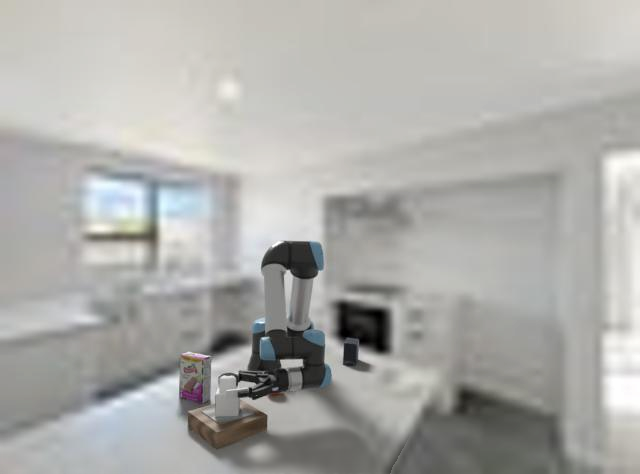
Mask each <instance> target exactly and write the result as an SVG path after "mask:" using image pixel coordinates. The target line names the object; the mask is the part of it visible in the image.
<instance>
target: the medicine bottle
mask: <svg viewBox="0 0 640 474" xmlns="http://www.w3.org/2000/svg"><path fill="white" fill-rule="evenodd" d="M219 375H220V376H219V384H218V387H217V388H216V389H217V390H216V392H215V395H214V396H215V398H214V399H215V401H214V404H215V417H237V416H238V414H239V409H240V400H241V398H238V399H230V400H226V390H231V389H240V388H241V386H240V385H239V383H238V375H237V374H235V373H234V372H225V373H222V374H219Z"/></svg>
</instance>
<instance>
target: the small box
mask: <svg viewBox="0 0 640 474" xmlns="http://www.w3.org/2000/svg"><path fill="white" fill-rule="evenodd" d="M359 346H360V339H359V338H352V337H346V339H345V340H344V342H343V353H342V355H343V357H342V365H344V366H346V365H347V366H354V367H355V366H356V365H357V363H358V360H359V349H360V347H359Z"/></svg>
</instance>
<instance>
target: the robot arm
mask: <svg viewBox="0 0 640 474" xmlns="http://www.w3.org/2000/svg"><path fill="white" fill-rule="evenodd" d="M324 268H325V259H324V252H323V246H322V243H321V242H320V241H311V240H308V241H307V240H305V241H303V240H280V241H277V242H276V243H273V244H272V245H271V246H270V247H268V249H267V251H266V252H264V255H263V257H262V260H261V264H260V273H261V275H262V277H263V288H264V289H263V290H264V293H263V294H264V295H263V296H264V317H260V318H257V319H256V320H254V322H253V323H252V330H251V333H252V337H251V338H252V339H251V355H250V357H249V361H248V364H247V369H246V370H245V369H244V370H243V369H242V370H241V369H239V370H238V372H237V373H234V374H237V375H238V384H239V383H240V382H246V383H253V384H255V385H254V386H248V387H242V388H241V387H240V389H231V390H226V400H230V399H238V398H240V399H242V398H243V399H244V398H249V399H251V400H252V401H256V400H258V399H261V398H264V397H266V396H269V395H273V394H272V393H279V392H280V393H287V391H288V392H291V391H293V393H294V392H296V391H300V390H301V391H302V390H308V389H309V390H310V389H319V388H324V387H327V386H329V385H331V383H332V378H333V377H332V376H333V374H332V369H331V367H330V365H329V364H327V363H325V357H326V356H325V352H326V350H325V349H326V335H325V334H326V333H324V331H322V330H320V329H316V328H315V327H314V322H313V321H312V320H311V318H310V316H309V314H310V307H311V301H312V293H313V287H314V286H313V285H314V279H315V278H316V277H318V275H319V271H320V272H321V271H324ZM287 271H289V272H290V274H291V276H292V283H291V293H290V301H289V302H290V303H289V311H288V314H287V307H286V290H285V289H286V287H285V275H286V274H287ZM284 360H285V361H286V360H293V361H294V360H302V365H301V366H291V367H286V368H284V367H282V363H281V361H284ZM220 375H221V374H218V375H217V378H218V379H217V382H218V383H217V384H218V385H219V376H220ZM280 393H279V394H280Z"/></svg>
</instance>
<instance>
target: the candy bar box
mask: <svg viewBox="0 0 640 474" xmlns="http://www.w3.org/2000/svg"><path fill="white" fill-rule="evenodd" d="M211 377H212V356H211V355H208V354H202V353H198V352H194V351H193V352H192V351H186V352H184V353H181V354H179V382H178V383H179V388H178V389H179V391H178V398H179V399H184V400H187V401H192V402H195V403H199V404H204V403H207V402H208V401H210V400H211V393H212V392H211V390H212V389H211V387H212V386H211V383H212V378H211Z"/></svg>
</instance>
